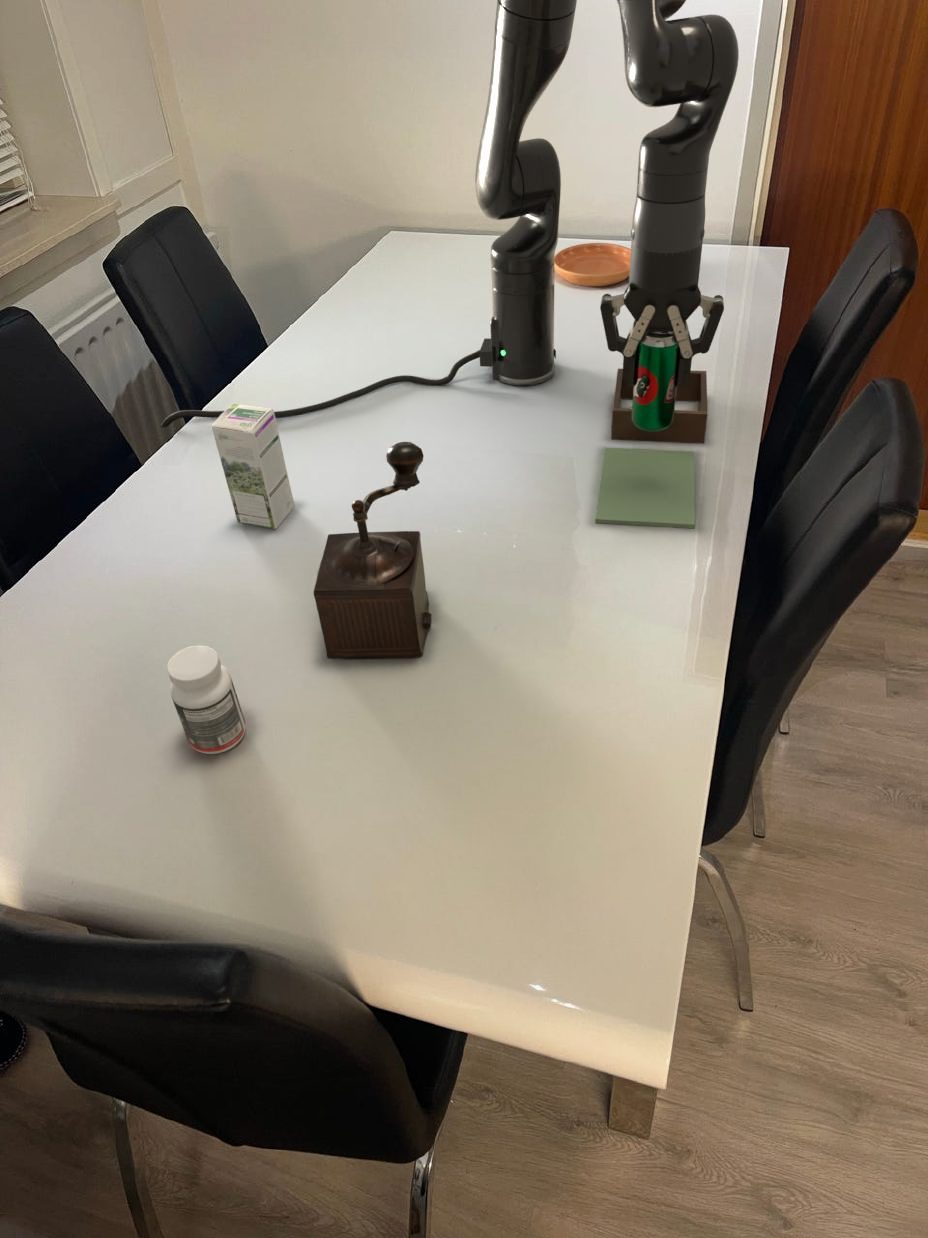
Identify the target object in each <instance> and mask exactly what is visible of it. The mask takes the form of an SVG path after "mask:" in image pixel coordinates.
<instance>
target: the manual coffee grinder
mask: <svg viewBox="0 0 928 1238" xmlns="http://www.w3.org/2000/svg"><path fill="white" fill-rule="evenodd" d="M385 456H386V457H385V458H386V463H387V464H388V465H389V466H390V468H392V470H393V471H394V473H395V475H394V479H393V481H392V485H389V486H388V485H387V486H385V487H382V488H379V489H376V490H374V491H371V492H370V493H368V494H367V495H366V496H365V497H364V498H363V500H361V499H356V500H354V501H353V502H352V503H351V509H352V512H353V513H352V517H353V522H354V523H356V524H357V531H358V532H345V533H344V532H343V533H330V534H327V537H326V542H325V547H324V550H323V553H322V557H321V560H320V562H319V563H320V564H319V568H318V570H317V575H316V580H315V584H314V589H313V596H314V600H315V605H316V606H315V607H316V610H317V614H318V619H319V624H320V628H321V632H322V638H323V641H324V647H325V653H326V657H327V659H332V660H333V659H335V660H389V659H390V660H391V659H392V660H393V659H395V660H397V659H415V658H420V657H422V656H423V653H424V651H425V650H424V649H425V645H426V639H427V635H428V631H429V629H430V628H431V625H432V613H430V612H429V606H430V601H429V594H428V591H427V588H426V574H425V566H424V558H423V557H424V556H423V550H422V541H421V532H420V531H419V530H398V531H397V530H396V531H368V526H367V520H368V519H369V518H368V513H369V510H370V508H371V506H372V505H373V503H374V502H375V501H377V500H378V499H381V498H383V497H386V496H390V495H393V494H394V493H396V492H398V491H405V492H407V491H408V490H409V489H412V488H414V487H416V486H417V485H419V484H420V479H419V477H418V474H417V472H418V470H419V467H420V466H421V464H422V463H423V462H424V452H423V450H422V448H421V447H419V446H418V445H416V443H413V442H412V441H400V442H397V443H395V444H394V445H392V446H390V447H388V450H387V452H386V455H385Z"/></svg>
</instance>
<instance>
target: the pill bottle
mask: <svg viewBox="0 0 928 1238" xmlns="http://www.w3.org/2000/svg"><path fill="white" fill-rule="evenodd" d="M166 667H167V668H166V669H167V674H168V677H169V681H170V682H171V683H170V689H169V691H170V692H169V693H170V696H171V699H172V703H173V705H174V708H175V710H176V713H177V715H178V718H179V721H180V723H181V726H182V729H183V731H184V734H185V736H186V737H185V738H186V740H187V742H188V743H189V745H190V746H191V747H192V748H193V749H194V750H195V751H197V752H198V753H201V754H208V755H216V754H221V753H224V752H227V751H229V750H231V749H232V748H234V747H235V746H237V745H238V744H239V743H240V741H241V740H242V739H243V737H244V735H245V733H246V727H247V725H246V719H245V715H244V714H243V711H242V707H241V704H240V700H239V697H238V695H237V691H236V689H235V685H234V682H233V678H232V676H231V674H230V671H229V670H228V669H227V668H226V667H225V666H224V665H222V663H221V660H220V657H219V654H218V653H217V651H216V650H215V649H213V648H211V646H206V645H192V646H188V647H185V648H183V649H180V650H179V651H178V652H176V653H175V654H173V656H172V657H170V659H169V661H168V663H167V666H166Z"/></svg>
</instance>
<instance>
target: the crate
mask: <svg viewBox="0 0 928 1238" xmlns="http://www.w3.org/2000/svg"><path fill="white" fill-rule="evenodd" d="M707 374H708V373H707V370H691V372H690V379H689V381H688V382H683V387H677V390H676V400H675V402H679V401H680V402H697V410H688V409H687V410H686V409H685V410H684V409H683V410H682V409H675V410H674V420H673V422H672V424H671V425H670V426H669V427H667V428H666V429H664V430H661V431H645V430H642V429H639V428H638V427H637V426H636V425H635V424H634V423H633V422H632V419H631V417H632V408H627V407H622V400H633V387H634V386H633V385H628V381H624V379H623V377H622V375H623V368H619V367H618V368H617V372H616V379H615V387H614V396H613V403H612V412H611V414H612V415H611V432H610V433H611V434H610V436H611V437H610V439H611V440H621V441H643V442H644V441H645V442H646V441H647V442H666V443H667V442H669V443H694V444H695V443H696V444H704V443H705V438H706V437H705V436H706V429H707V420H708V378H707V377H708V375H707Z"/></svg>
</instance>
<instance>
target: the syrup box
mask: <svg viewBox="0 0 928 1238" xmlns="http://www.w3.org/2000/svg"><path fill="white" fill-rule="evenodd" d="M223 411H224V412H223V413H222V414H221V415H220V416H219V417H218V418H216V419H215V420H214V422H213V423H212V424H211V431H212V434H213V437H214V441H215V445H216V449H217V452H218V455H219V459H220V462H221V466H222V470H223V473H224V477H225V482H226V485H227V488H228V492H229V495H230V500H231V503H232V506H233V510H234V514H235V517H236V522H237V523H238V524H241V525H246V526H247V525H248V526H253V527H259V528H266V529H271V530H277V528H278V527H279V526H280V525H281V524H282V523H283V522H284V521H285V519H287V517H288V516H289V514H291V512H292V511H293V510H294V508H295V506H296V505H295V500H294V496H293V492H292V488H291V483H290V480H289V474H288V470H287V466H286V461H285V457H284V451H283V446H282V442H281V437H280V432H279V428H278V423H277V418H275V414H274V412H275V409H273V408H268V407H261V406H251V405H245V404H236V403H233V404H232V405H230V406H229V407H227V409H225V410H223Z"/></svg>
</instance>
